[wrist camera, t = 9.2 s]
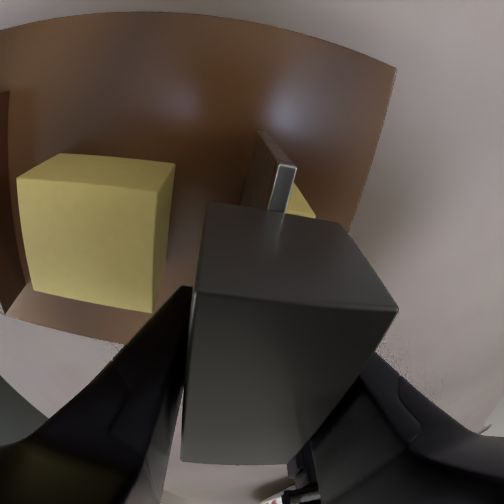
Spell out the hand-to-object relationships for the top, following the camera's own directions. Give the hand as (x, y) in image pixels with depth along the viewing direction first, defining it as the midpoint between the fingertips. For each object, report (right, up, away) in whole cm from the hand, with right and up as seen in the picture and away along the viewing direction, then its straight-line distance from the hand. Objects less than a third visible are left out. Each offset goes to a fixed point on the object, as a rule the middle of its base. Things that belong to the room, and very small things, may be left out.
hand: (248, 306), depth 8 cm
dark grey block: (0, +2, +4) cm, 4 cm away
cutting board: (-7, +4, +4) cm, 9 cm away
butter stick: (-6, +3, +3) cm, 7 cm away
